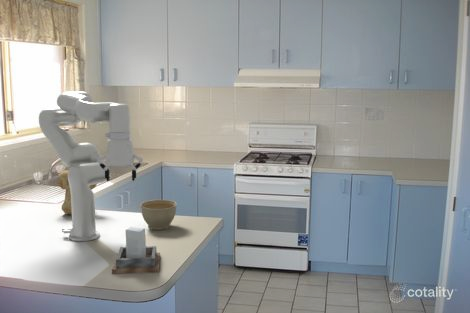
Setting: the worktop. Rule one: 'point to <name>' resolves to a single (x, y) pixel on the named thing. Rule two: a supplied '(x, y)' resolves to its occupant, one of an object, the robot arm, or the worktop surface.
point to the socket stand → (137, 262)
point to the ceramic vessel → (67, 191)
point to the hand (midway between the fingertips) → (120, 180)
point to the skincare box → (135, 243)
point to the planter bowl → (158, 213)
